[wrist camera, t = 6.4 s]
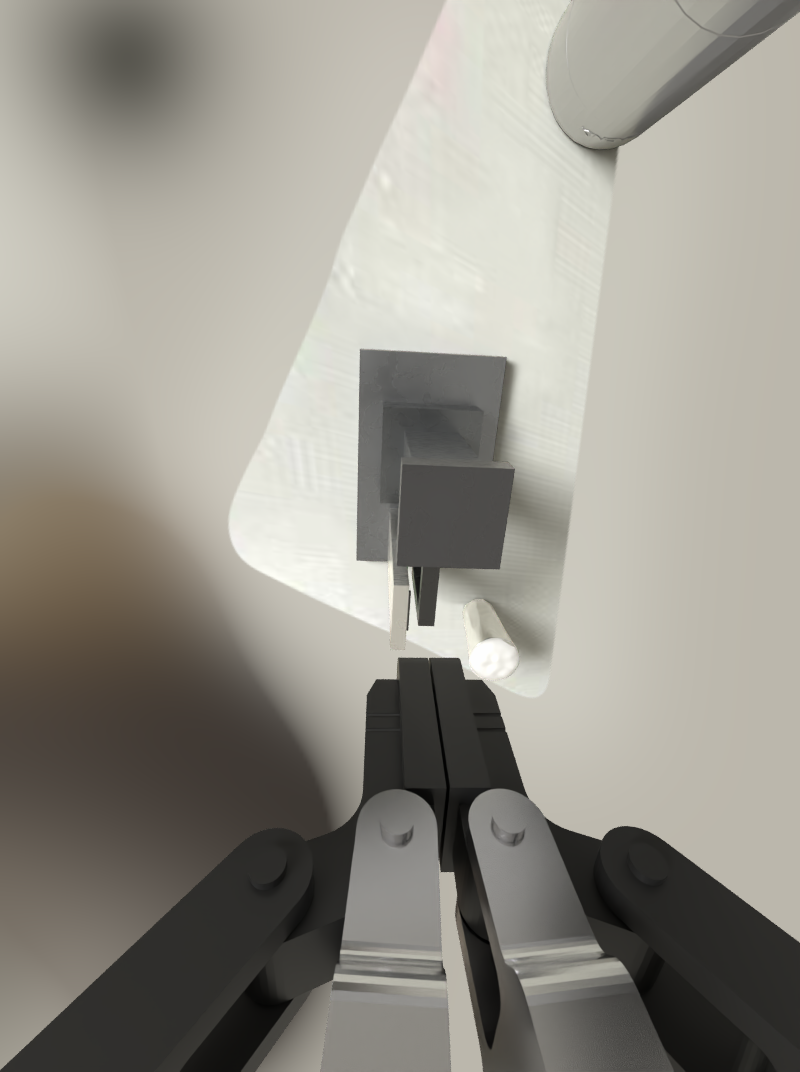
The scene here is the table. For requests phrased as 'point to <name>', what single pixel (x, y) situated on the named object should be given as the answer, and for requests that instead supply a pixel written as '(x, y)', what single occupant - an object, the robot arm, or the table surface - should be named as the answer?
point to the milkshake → (488, 642)
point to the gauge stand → (416, 441)
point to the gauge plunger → (450, 520)
